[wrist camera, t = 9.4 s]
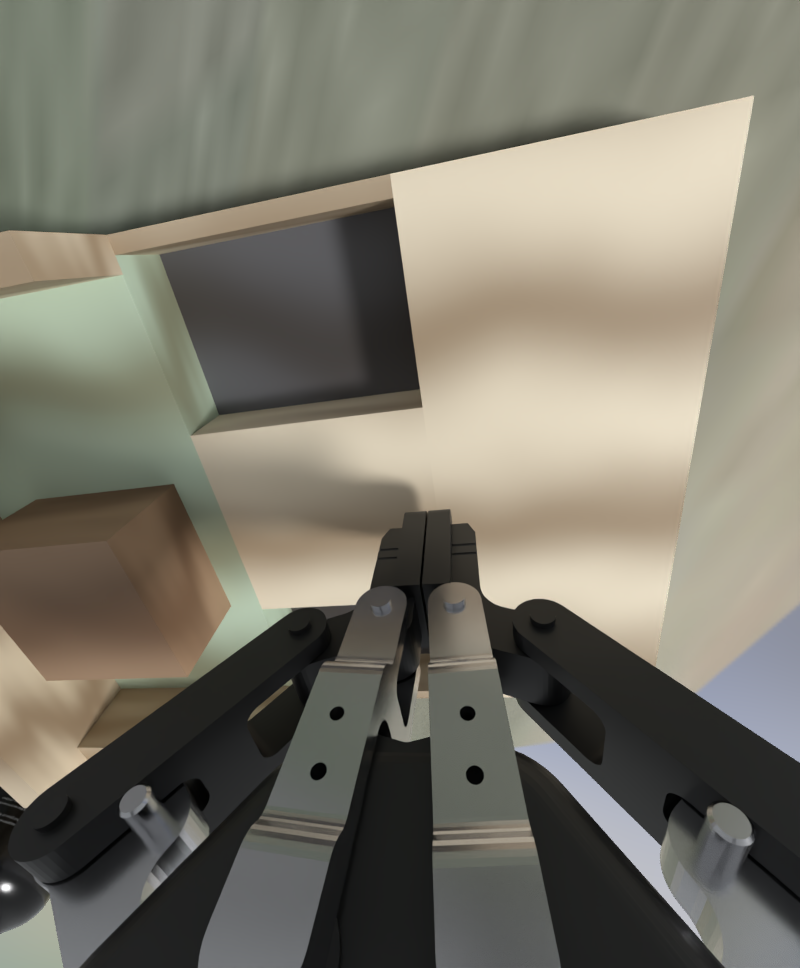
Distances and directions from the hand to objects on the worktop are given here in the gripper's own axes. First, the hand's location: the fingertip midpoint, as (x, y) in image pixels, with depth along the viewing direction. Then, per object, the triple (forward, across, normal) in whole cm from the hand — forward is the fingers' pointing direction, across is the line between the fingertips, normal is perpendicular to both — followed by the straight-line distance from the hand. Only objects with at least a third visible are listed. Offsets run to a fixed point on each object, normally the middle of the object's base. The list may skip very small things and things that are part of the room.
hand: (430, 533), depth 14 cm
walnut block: (+1, +12, +1) cm, 12 cm away
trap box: (+4, +5, 0) cm, 6 cm away
